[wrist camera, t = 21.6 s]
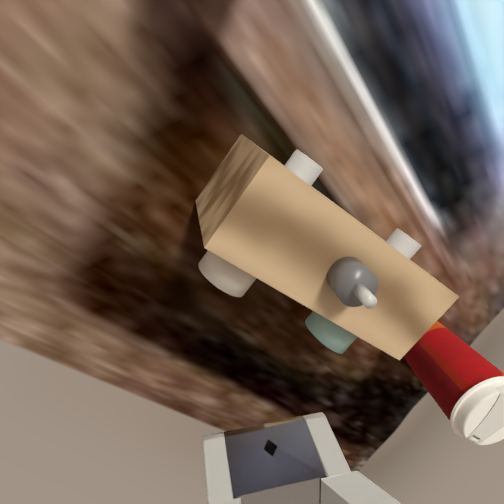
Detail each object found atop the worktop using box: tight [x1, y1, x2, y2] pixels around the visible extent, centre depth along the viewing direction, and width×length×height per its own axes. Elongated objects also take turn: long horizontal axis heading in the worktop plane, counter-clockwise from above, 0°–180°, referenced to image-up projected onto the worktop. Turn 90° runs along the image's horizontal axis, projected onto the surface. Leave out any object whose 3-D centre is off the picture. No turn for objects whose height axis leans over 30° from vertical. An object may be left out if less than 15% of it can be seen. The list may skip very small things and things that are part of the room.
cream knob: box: [198, 149, 323, 297], centre depth 33 cm, size 13×5×5 cm, turn 144°
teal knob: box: [305, 228, 421, 354], centre depth 38 cm, size 13×5×5 cm, turn 144°
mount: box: [196, 134, 459, 360], centre depth 36 cm, size 8×22×12 cm, turn 54°
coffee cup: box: [403, 321, 504, 445], centre depth 44 cm, size 8×8×15 cm
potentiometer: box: [327, 257, 378, 309], centre depth 29 cm, size 3×3×4 cm
